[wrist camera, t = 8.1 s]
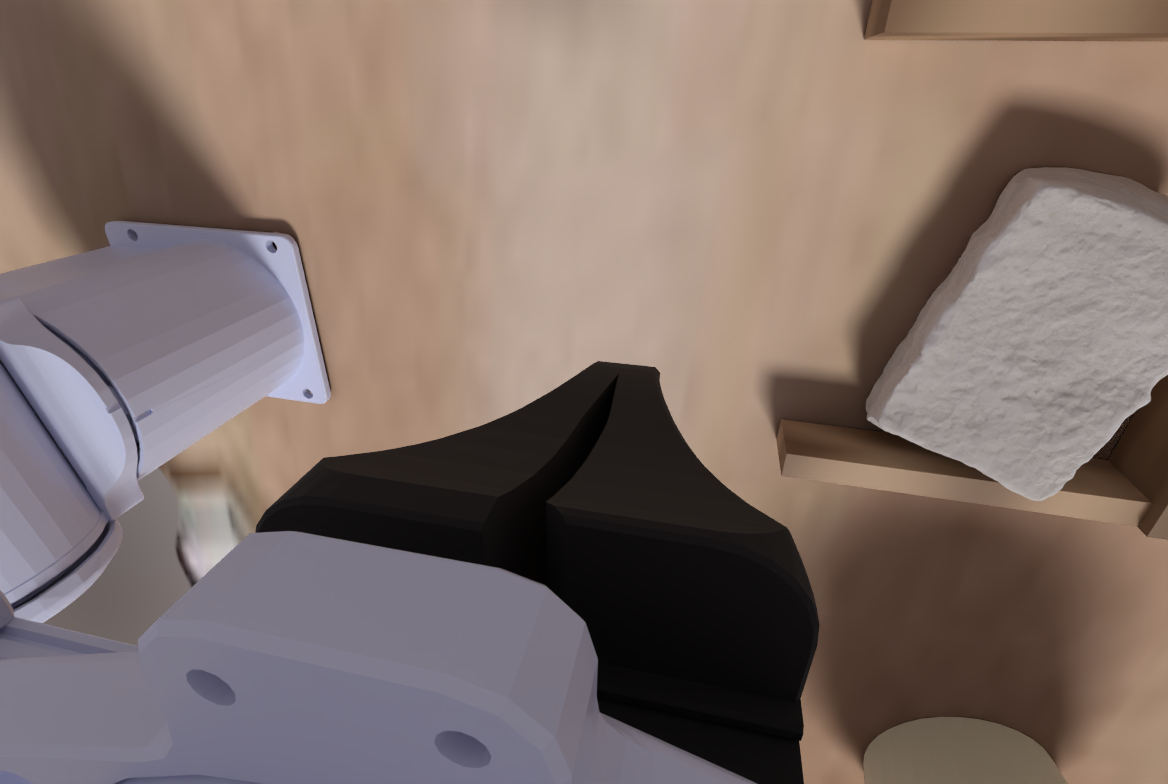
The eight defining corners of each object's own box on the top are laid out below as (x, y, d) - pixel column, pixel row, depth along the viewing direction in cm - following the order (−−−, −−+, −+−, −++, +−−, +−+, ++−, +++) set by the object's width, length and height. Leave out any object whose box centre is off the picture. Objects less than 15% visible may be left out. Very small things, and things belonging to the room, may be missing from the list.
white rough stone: (994, 172, 20) (1063, 111, 15) (1191, 240, 19) (1349, 197, 13) (851, 410, 23) (866, 429, 17) (1014, 490, 21) (1088, 540, 15)
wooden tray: (776, 440, 23) (782, 483, 21) (873, -2, 16) (900, -20, 13) (1126, 486, 21) (1182, 542, 18) (1421, -6, 14) (1583, -28, 11)
